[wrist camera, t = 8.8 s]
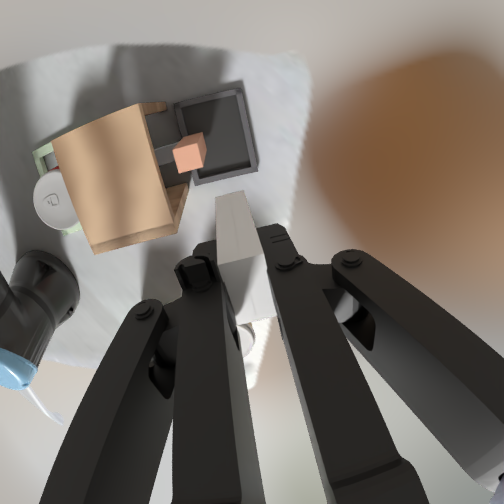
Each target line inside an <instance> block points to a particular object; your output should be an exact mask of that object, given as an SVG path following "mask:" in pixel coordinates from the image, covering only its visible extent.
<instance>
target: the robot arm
mask: <svg viewBox="0 0 504 504" xmlns="http://www.w3.org/2000/svg"><path fill="white" fill-rule="evenodd" d="M215 206H216V239H215V240H211V241H208V242H204V243H200V244H198V245H197V246H196V247H195V249H194V250H193V255H192V256H189V257H187V258H185V259H183V260H181V261H180V262H179V263H178V264H177V265H176V267H175V269H174V271H175V273H176V276H177V278H178V280H179V283H180V285H181V288H182V290H183V291H182V297H180V298H179V299H177V300H175V301H174V302H172V303H169V304H167V305H165V306H163V305H162V303H161V302H160V301H158V300H156V299H148V300H144V301H142V302H139V303H138V304H136V305H135V306H134V307H132V309H131V310H130V311H129V312H128V314H127V316H126V317H125V319H124V321H123V323H122V324H121V326H120V328H119V330H118V332H117V333H116V335H115V337H114V339H113V341H112V342H111V344H110V346H109V348H108V350H107V352H106V354H105V355H104V357H103V359H102V361H101V363H100V365H99V367H98V369H97V371H96V373H95V375H94V377H93V379H92V381H91V383H90V385H89V387H88V389H87V391H86V393H85V395H84V397H83V399H82V401H81V403H80V405H79V407H78V409H77V412H76V414H75V416H74V418H73V420H72V422H71V425H70V427H69V429H68V431H67V434H66V436H65V439H64V440H63V443H62V445H61V447H60V450H59V452H58V455H57V457H56V460H55V462H54V465H53V467H52V470H51V472H50V475H49V477H48V480H47V483H46V486H45V488H44V491H43V494H42V497H41V500H40V502H39V504H149V501H150V497H151V493H152V490H153V486H154V482H155V479H156V475H157V472H158V468H159V464H160V461H161V457H162V454H163V450H164V447H165V443H166V440H167V437H168V433H169V430H170V426H171V423H172V419H173V444H172V484H173V498H172V502H171V504H266V502H265V497H264V491H263V485H262V479H261V473H260V468H259V461H258V455H257V449H256V442H255V436H254V430H253V423H252V418H251V411H250V404H249V397H248V390H247V384H246V377H245V370H244V363H243V355H242V348H241V341H240V335H239V332H238V329H237V326H236V321H237V324H238V325H241V324H246V323H250V322H254V321H258V320H262V319H267V318H271V317H275V316H277V317H278V322H279V326H280V331H281V336H282V340H283V341H284V344H285V348H286V352H287V355H288V359H289V363H290V366H291V370H292V373H293V377H294V380H295V384H296V388H297V392H298V395H299V399H300V403H301V406H302V410H303V414H304V417H305V421H306V425H307V428H308V432H309V436H310V439H311V443H312V447H313V450H314V454H315V458H316V462H317V465H318V469H319V473H320V477H321V480H322V484H323V488H324V492H325V495H326V499H327V504H429V501H428V499H427V496H426V494H425V491H424V488H423V486H422V483H421V481H420V478H419V476H418V474H417V472H416V470H415V468H414V467H413V466H412V464H411V463H410V462H409V461H407V460H406V459H404V458H402V457H401V456H400V454H399V453H398V451H397V449H396V447H395V445H394V442H393V440H392V437H391V435H390V433H389V430H388V428H387V426H386V423H385V421H384V419H383V417H382V414H381V412H380V410H379V408H378V405H377V403H376V401H375V398H374V396H373V394H372V392H371V390H370V387H369V385H368V383H367V381H366V379H365V377H364V375H363V372H362V370H361V368H360V366H359V364H358V362H357V359H356V357H355V355H354V353H353V351H352V349H351V347H350V345H349V343H348V341H347V339H348V340H349V341H350V342H351V343H352V344H353V346H354V347H355V348H356V349H357V350H358V351H359V352H360V353H361V354H362V355H363V357H364V358H365V359H366V360H367V361H368V362H369V363H370V364H371V365H372V366H373V368H374V369H375V370H376V371H377V372H378V373H379V374H380V375H381V377H382V378H383V379H384V380H385V381H386V382H387V383H388V384H389V385H390V387H391V388H392V389H393V390H394V391H395V392H396V393H397V395H398V396H399V397H400V398H401V399H402V400H403V401H404V402H405V403H406V405H407V406H408V407H409V408H410V409H411V410H412V411H413V413H414V414H415V415H416V416H417V417H418V418H419V419H420V420H421V421H422V423H423V424H424V425H425V426H426V427H427V428H428V430H429V431H430V432H431V433H432V434H433V435H434V436H435V438H436V439H437V440H438V441H439V442H440V443H441V444H442V446H443V447H444V448H445V449H446V450H447V451H448V452H449V453H450V455H451V456H452V457H453V458H454V459H455V460H456V462H457V463H458V464H459V465H460V466H461V467H462V469H463V470H464V471H465V472H466V473H467V474H468V475H469V476H470V477H471V478H472V479H473V480H474V481H476V482H477V483H478V484H480V485H481V486H482V487H484V488H485V489H487V490H489V491H491V492H493V493H495V494H494V496H493V497H492V498H491V500H490V503H489V504H504V358H503V357H502V356H501V355H499V354H498V353H497V352H496V351H495V350H494V349H492V348H491V347H490V346H489V345H487V343H485V342H484V341H483V340H482V339H481V338H479V337H478V336H477V335H476V334H475V333H473V332H472V331H471V330H470V329H468V328H467V327H466V326H465V325H463V324H462V323H461V322H460V321H458V320H457V319H456V318H455V317H453V316H452V315H451V314H450V313H448V312H447V311H446V310H445V309H443V308H442V307H440V306H439V305H438V304H436V303H435V302H434V301H433V300H431V299H430V298H429V297H427V296H426V295H425V294H424V293H422V292H421V291H419V290H418V289H417V288H415V287H414V286H413V285H411V284H410V283H409V282H407V281H406V280H405V279H403V278H402V277H400V276H399V275H398V274H396V273H395V272H393V271H392V270H391V269H389V268H388V267H386V266H385V265H384V264H382V263H381V262H379V261H378V260H376V259H375V258H373V257H372V256H371V255H369V254H367V253H365V252H364V251H361V250H355V249H351V250H344V251H341V252H339V253H337V254H335V255H334V256H333V258H332V260H331V262H332V263H331V264H311V263H308V262H307V260H306V259H305V258H304V257H303V256H301V255H299V254H298V252H297V251H296V248H295V247H294V244H293V242H292V241H291V239H290V237H289V235H288V233H287V231H286V229H285V227H283V226H281V225H279V224H278V223H277V224H273V225H268V226H264V227H260V228H256V227H255V224H254V221H253V218H252V215H251V212H250V208H249V205H248V202H247V199H246V196H245V193H244V190H242V191H238V192H234V193H230V194H226V195H222V196H218V197H215ZM79 298H80V294H79V288H78V285H77V282H76V280H75V278H74V276H73V275H72V273H71V272H70V270H69V269H68V268H67V267H66V266H65V265H64V264H63V263H62V262H61V261H60V260H59V259H57V258H56V257H54V256H53V255H51V254H48V253H46V252H42V251H31V252H28V253H26V254H25V255H23V256H22V258H21V259H20V260H19V261H18V262H17V264H16V265H15V268H14V271H13V274H12V277H11V280H10V283H9V285H8V283H7V282H6V280H5V278H4V276H3V275H2V273H1V271H0V385H1V386H4V387H6V388H9V389H13V390H23V389H25V388H27V387H28V386H29V385H30V383H31V381H32V379H33V377H34V375H35V374H36V373H37V371H38V366H39V364H40V362H41V359H42V357H43V355H44V352H45V350H46V348H47V346H48V344H49V341H50V339H51V337H52V335H53V333H54V331H55V329H56V328H58V327H59V326H60V325H61V324H62V323H64V322H65V321H66V320H67V319H69V318H70V317H71V316H72V314H73V313H74V311H75V309H76V307H77V305H78V303H79ZM346 338H347V339H346ZM151 359H152V360H151Z"/></svg>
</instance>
